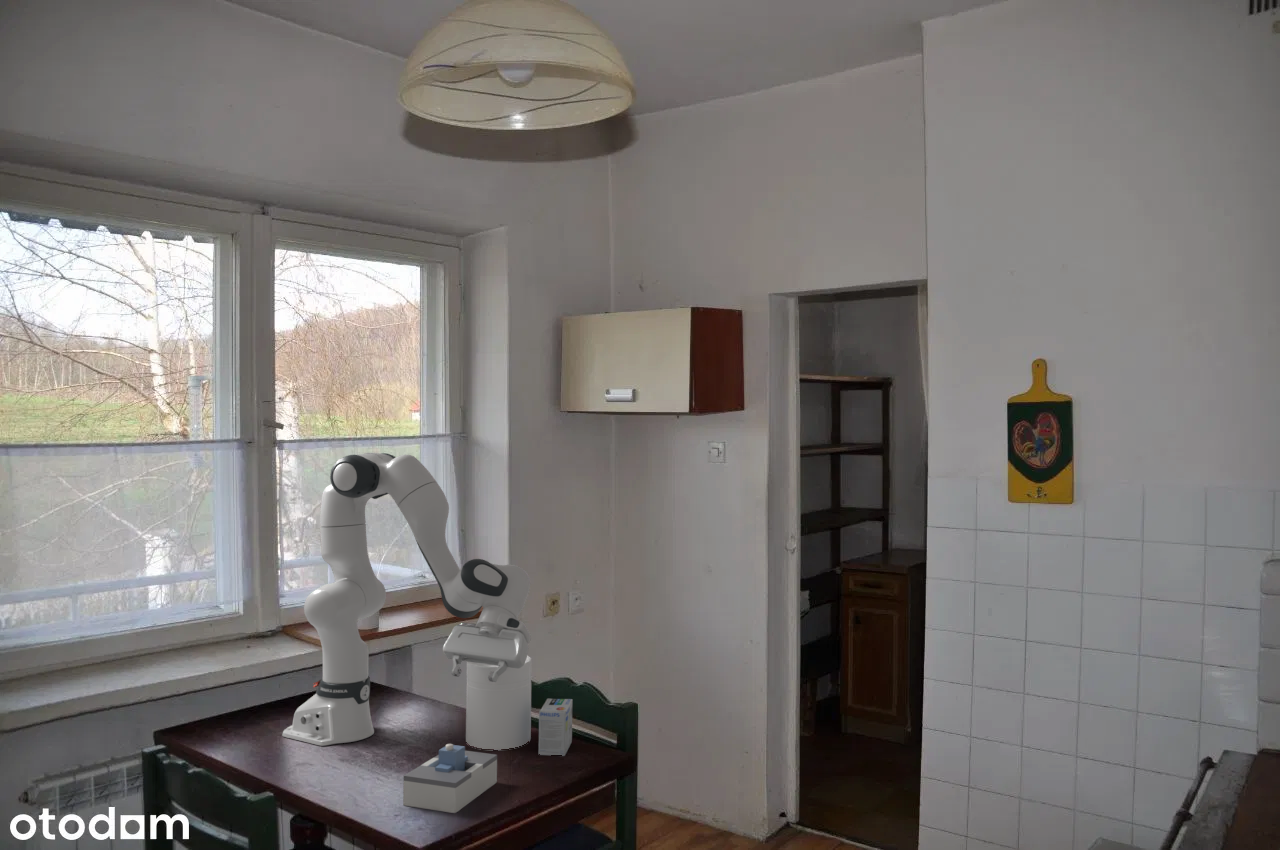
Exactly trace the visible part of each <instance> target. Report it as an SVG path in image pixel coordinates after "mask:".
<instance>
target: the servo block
mask: <svg viewBox="0 0 1280 850" xmlns="http://www.w3.org/2000/svg"><path fill="white" fill-rule="evenodd" d="M465 751H466V746H465V745H464V746H463V745H455V744H453V743H447V744H445V746H443V747H442V748H440V749H439V750H438V755H439V764H438V766H436V767H435V771H440V772H447V773H448V772H449V771H451V770H458V771H465V761H466V760H468V756H465Z"/></svg>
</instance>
